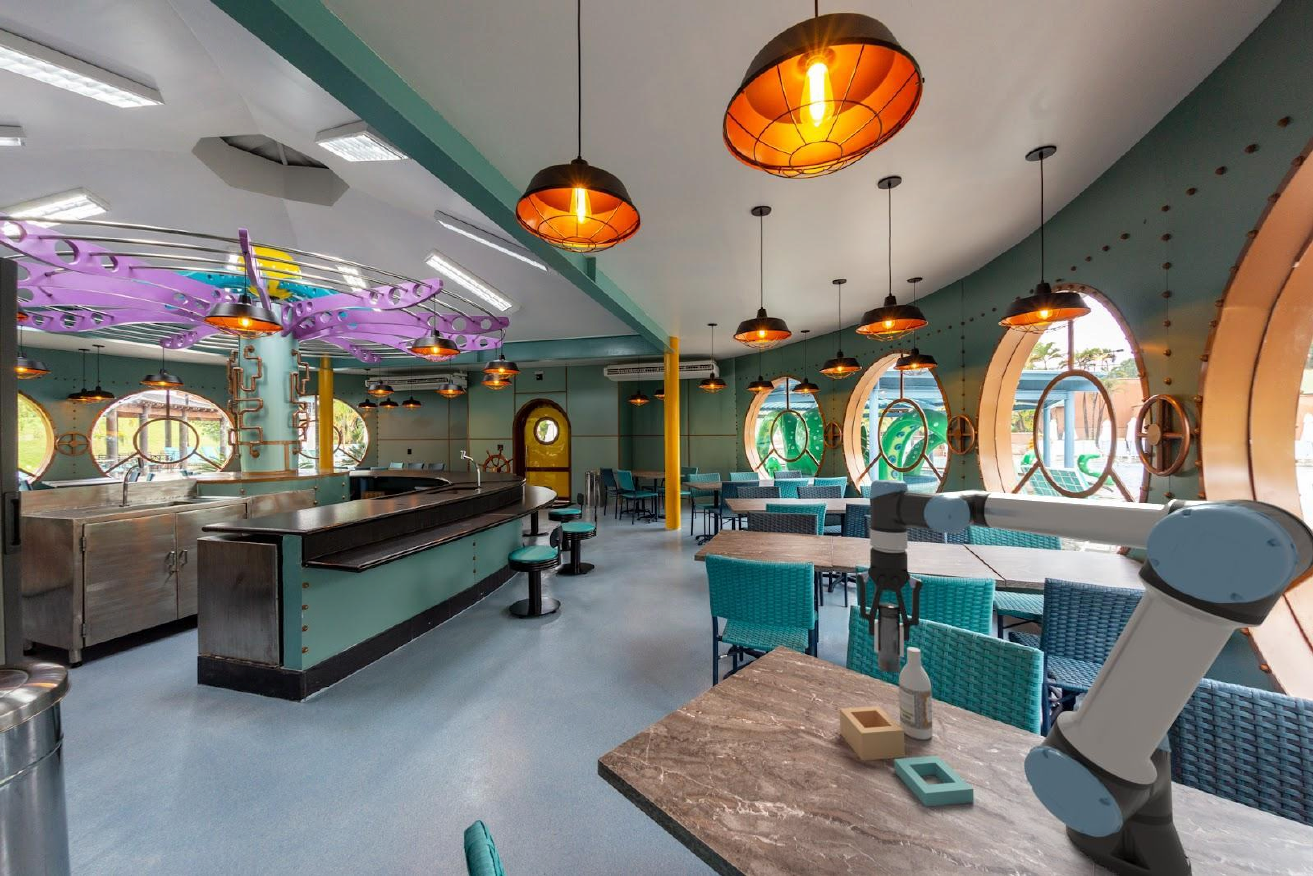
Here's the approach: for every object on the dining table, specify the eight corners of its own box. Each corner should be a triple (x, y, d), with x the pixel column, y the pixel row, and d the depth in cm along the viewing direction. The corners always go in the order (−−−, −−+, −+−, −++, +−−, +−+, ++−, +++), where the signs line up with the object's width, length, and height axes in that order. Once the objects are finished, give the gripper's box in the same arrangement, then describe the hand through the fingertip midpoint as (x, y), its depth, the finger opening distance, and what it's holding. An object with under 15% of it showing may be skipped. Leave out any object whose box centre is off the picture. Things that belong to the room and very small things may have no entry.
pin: (904, 672, 102) (904, 609, 102) (885, 673, 102) (885, 610, 102) (892, 663, 107) (892, 602, 107) (874, 664, 106) (874, 603, 106)
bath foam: (927, 744, 108) (924, 658, 109) (896, 732, 113) (893, 649, 114) (936, 732, 113) (933, 649, 114) (905, 720, 118) (903, 641, 119)
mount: (973, 802, 91) (973, 789, 91) (925, 806, 90) (925, 793, 90) (938, 767, 101) (937, 755, 101) (894, 771, 100) (894, 759, 100)
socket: (904, 757, 104) (904, 730, 104) (862, 760, 103) (861, 733, 103) (879, 730, 114) (878, 706, 114) (840, 733, 113) (839, 708, 113)
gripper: (931, 548, 104) (931, 652, 104) (847, 541, 111) (847, 638, 111) (935, 556, 97) (935, 667, 97) (846, 548, 105) (846, 651, 105)
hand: (888, 651), depth 104 cm, fingers closed on pin, 4 cm apart
